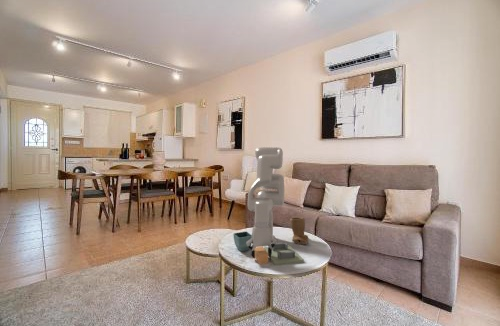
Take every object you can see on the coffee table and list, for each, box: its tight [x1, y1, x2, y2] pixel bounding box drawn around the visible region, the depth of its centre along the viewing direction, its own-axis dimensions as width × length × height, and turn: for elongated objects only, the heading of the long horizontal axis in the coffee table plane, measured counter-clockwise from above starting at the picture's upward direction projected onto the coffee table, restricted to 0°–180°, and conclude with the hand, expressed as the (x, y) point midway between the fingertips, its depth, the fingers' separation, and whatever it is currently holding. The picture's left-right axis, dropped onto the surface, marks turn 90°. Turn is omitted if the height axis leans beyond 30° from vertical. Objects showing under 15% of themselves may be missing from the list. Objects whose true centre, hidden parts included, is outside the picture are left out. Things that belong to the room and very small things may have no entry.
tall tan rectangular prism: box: [254, 246, 269, 265], centre depth 134 cm, size 10×5×5 cm, turn 14°
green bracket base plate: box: [263, 242, 305, 266], centre depth 138 cm, size 20×16×4 cm
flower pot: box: [233, 231, 252, 252], centre depth 147 cm, size 9×9×9 cm
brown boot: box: [289, 216, 309, 245], centre depth 161 cm, size 15×12×15 cm
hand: (261, 256), depth 133 cm, fingers open, 8 cm apart
